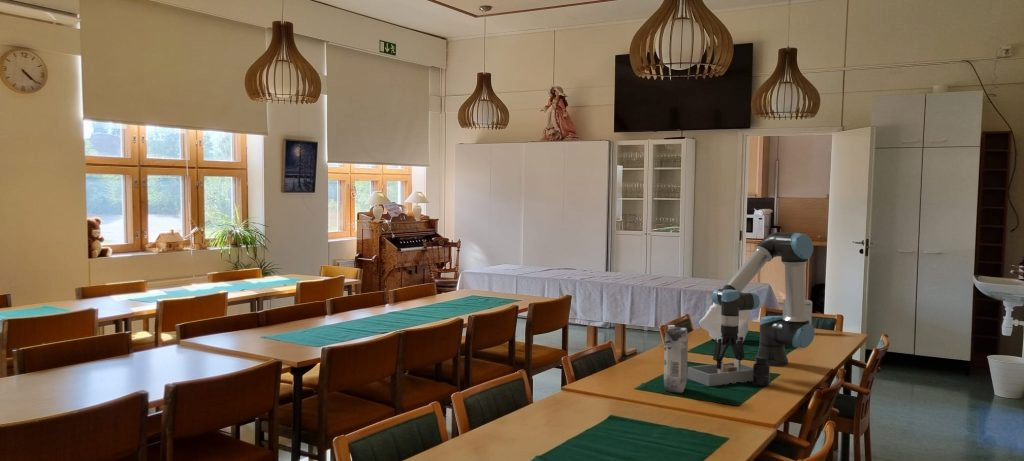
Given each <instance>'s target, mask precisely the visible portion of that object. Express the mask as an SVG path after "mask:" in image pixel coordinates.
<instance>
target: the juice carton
mask: <svg viewBox="0 0 1024 461" xmlns="http://www.w3.org/2000/svg"><path fill="white" fill-rule="evenodd" d="M688 336H689V335H688V329H687V327H680V326H679V327H678V326H676V325H674V324H670V325H668V326H667V329H666V330H665V336H664V348H663V349H664V352H663V355H664V356H663V357H664V359H663V385H664V386H663V387H664V391H665V392H671V393H681V394H682V393H683V392H684V391H685V388H686V385H687V381H688V378H687V373H688V355H689V354H688V352H689V351H688V350H689V349H688V348H689V346H688V343H689V337H688Z"/></svg>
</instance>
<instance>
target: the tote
mask: <svg viewBox="0 0 1024 461" xmlns="http://www.w3.org/2000/svg"><path fill="white" fill-rule="evenodd" d="M723 365H731V366H734V361H733V362H725V363H724V362H723ZM687 380H691V381H694V382H696V383H699V384H700V385H701V384H702V385H704V386H707V387H713V386H714V387H715V386H722V385H723V384H724V385H730V384H729V383H732V384H737V383H736V382H741V383H747V381H749V382H753V366H751V365H746V364H743V363H741V362H740V367H739V371H733V372H724V373H718V369H717V363H716V364H714V363H713V364H705V365H696V366H695V365H693V366H687Z"/></svg>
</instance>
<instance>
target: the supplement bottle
mask: <svg viewBox="0 0 1024 461" xmlns="http://www.w3.org/2000/svg"><path fill="white" fill-rule="evenodd" d="M755 357H756V356H755ZM767 362H768V358H767V357H762V356H758V357H756V362H754V363H753V366H752V367H753V381H752V385H754V386H757V387H765V388H766V387H768V386H770V376H771V375H770V374H771V372H770V370H771V366H770V365H769V364H767Z"/></svg>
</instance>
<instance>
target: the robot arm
mask: <svg viewBox="0 0 1024 461" xmlns="http://www.w3.org/2000/svg"><path fill="white" fill-rule="evenodd" d="M813 253H814V244H813V241H812V239H811V238H810V236H809V235H808V234H805V233H800V232H783V231H777V232H774V233H771V234H768V235H767V236H766V237H764V238H763V239H762V240H761V241H759V242H758V244H757V245H756V246H754V248H753V251H752V253H751V255H750V256H749V257H748V258H747V259H746V261H745V262H744V263H743V264H742V265H741V267H739V269H738V270H736V272H735V273H734V274H733V276H732V277H731V278H730V279H729V280H728V281H727V283H726V284H725V285H724V286H723V287H722V288H716V289H714V290H713V292H712V295H711V300H712V301H713V303H715V304H717V305H720V306H721V323H722V325H721V333H722V336H721V338H716V339H715V340H714V341H715V346H714V351H713V356H712V360H713V361H716V364H717V369H718V373H723V363H724V361H723V359H724V357H725V354H726V352H727V349H728V348H729V347H731V349H732V352H733V356H734V358H735V359H733V362H734V366H735V367H737V371H739V367H740V363H741V361H743V359H744V358H745V351H744V344H743V343H744V342H743V337H741V336H737V334H738V328H739V326H738V324H739V311H741V310H750V311H752V310H755V309H758V307H759V306H760V304H761V303H760V302H761V301H760V297H759V295H758V294H756V293H754V292H743V290H744V289H745V288H746V287H747V286H748V285H749V284H750V282H751V281H752V280H753V279H754V278H755V276H756V275H757V274H758V272H760V271H761V269H762V268H763V267H764V266H765V264H767V263H770V262H771V261H772V260H773V259H774V258H777V257H781V258H780V259H781V263H782V264H783V265H784V281H785V282H784V286H785V288H784V289H785V292H784V293H785V295H784V296H785V299H786V315H785V316H783V315H768V316H762V317H761V318H760V322H759V323H760V324H759V345H758V346H759V347H758V349H757V353H756V355H755V358H754V359H755V362H754V363H756V357H758V356H762V357H767V358H768V362H767V364H769V366H770V367H772V366H773V367H783V366H787V365H788V364H789V359H788V355H787V351H786V346H790V347H794V348H799V349H805V348H808V347H809V346H810V345H811V344H812V342H813V341H814V338H815V334H816V331H815V327H814V326H813V325H812V324H811V325H810V324H809V318H808V317H806V315H805V300H806V282H805V279H806V277H805V276H806V274H805V271H806V270H805V265H806V264H808V262H809V259H810V258H811V257H812V254H813ZM736 341H737V343H736Z"/></svg>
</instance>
